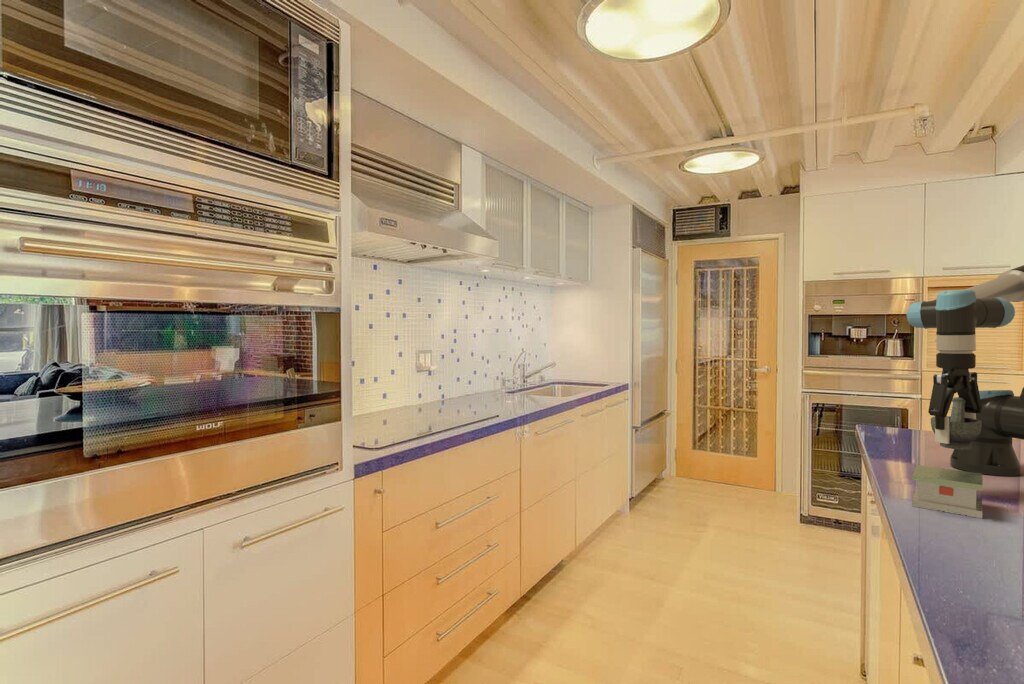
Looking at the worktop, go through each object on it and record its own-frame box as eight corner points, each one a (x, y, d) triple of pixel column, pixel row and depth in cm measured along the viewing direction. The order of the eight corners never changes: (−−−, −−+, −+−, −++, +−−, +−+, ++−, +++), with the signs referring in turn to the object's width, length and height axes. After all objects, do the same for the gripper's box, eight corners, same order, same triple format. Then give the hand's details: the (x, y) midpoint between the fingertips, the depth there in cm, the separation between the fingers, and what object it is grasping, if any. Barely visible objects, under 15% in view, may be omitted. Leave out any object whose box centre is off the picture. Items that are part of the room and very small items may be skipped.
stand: (916, 493, 128) (916, 464, 128) (981, 504, 120) (982, 473, 120) (911, 506, 120) (912, 474, 119) (982, 518, 112) (982, 485, 111)
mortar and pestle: (977, 453, 124) (977, 403, 123) (928, 447, 131) (927, 399, 130) (984, 445, 131) (984, 397, 131) (937, 440, 138) (936, 394, 138)
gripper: (965, 350, 138) (965, 433, 138) (910, 353, 129) (910, 442, 130) (1000, 351, 131) (1000, 438, 132) (944, 354, 122) (944, 448, 123)
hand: (955, 440), depth 131 cm, fingers closed on mortar and pestle, 10 cm apart
